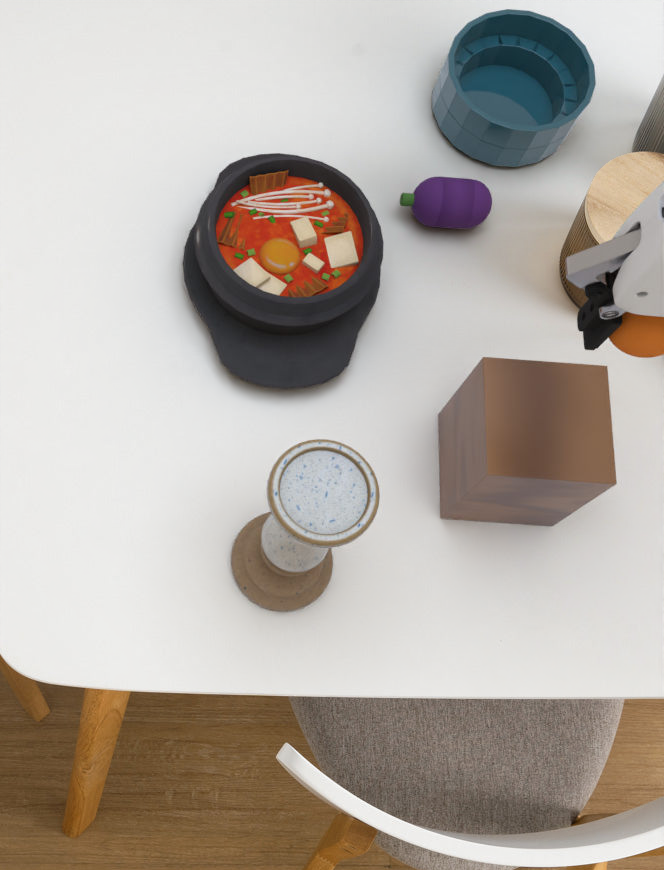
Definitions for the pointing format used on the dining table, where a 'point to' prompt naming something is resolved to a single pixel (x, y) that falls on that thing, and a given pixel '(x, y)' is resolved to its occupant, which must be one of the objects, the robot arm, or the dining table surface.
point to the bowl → (512, 87)
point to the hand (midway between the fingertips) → (632, 331)
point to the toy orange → (640, 335)
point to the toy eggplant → (449, 202)
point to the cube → (525, 442)
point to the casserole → (284, 268)
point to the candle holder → (304, 524)
